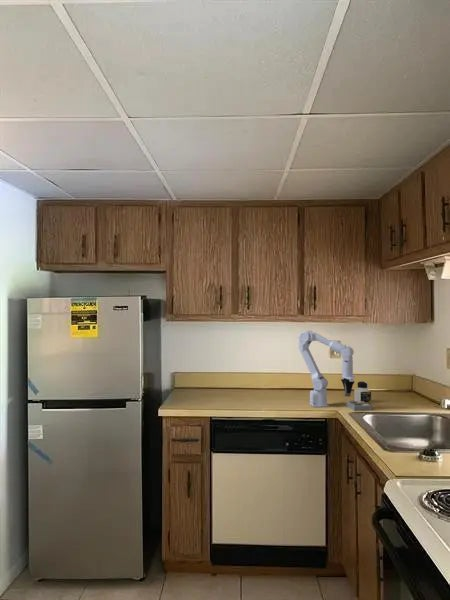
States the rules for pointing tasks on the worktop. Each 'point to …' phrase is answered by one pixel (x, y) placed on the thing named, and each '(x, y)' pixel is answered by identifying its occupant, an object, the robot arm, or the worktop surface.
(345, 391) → the plug
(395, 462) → the worktop surface
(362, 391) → the medicine bottle
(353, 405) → the socket block
